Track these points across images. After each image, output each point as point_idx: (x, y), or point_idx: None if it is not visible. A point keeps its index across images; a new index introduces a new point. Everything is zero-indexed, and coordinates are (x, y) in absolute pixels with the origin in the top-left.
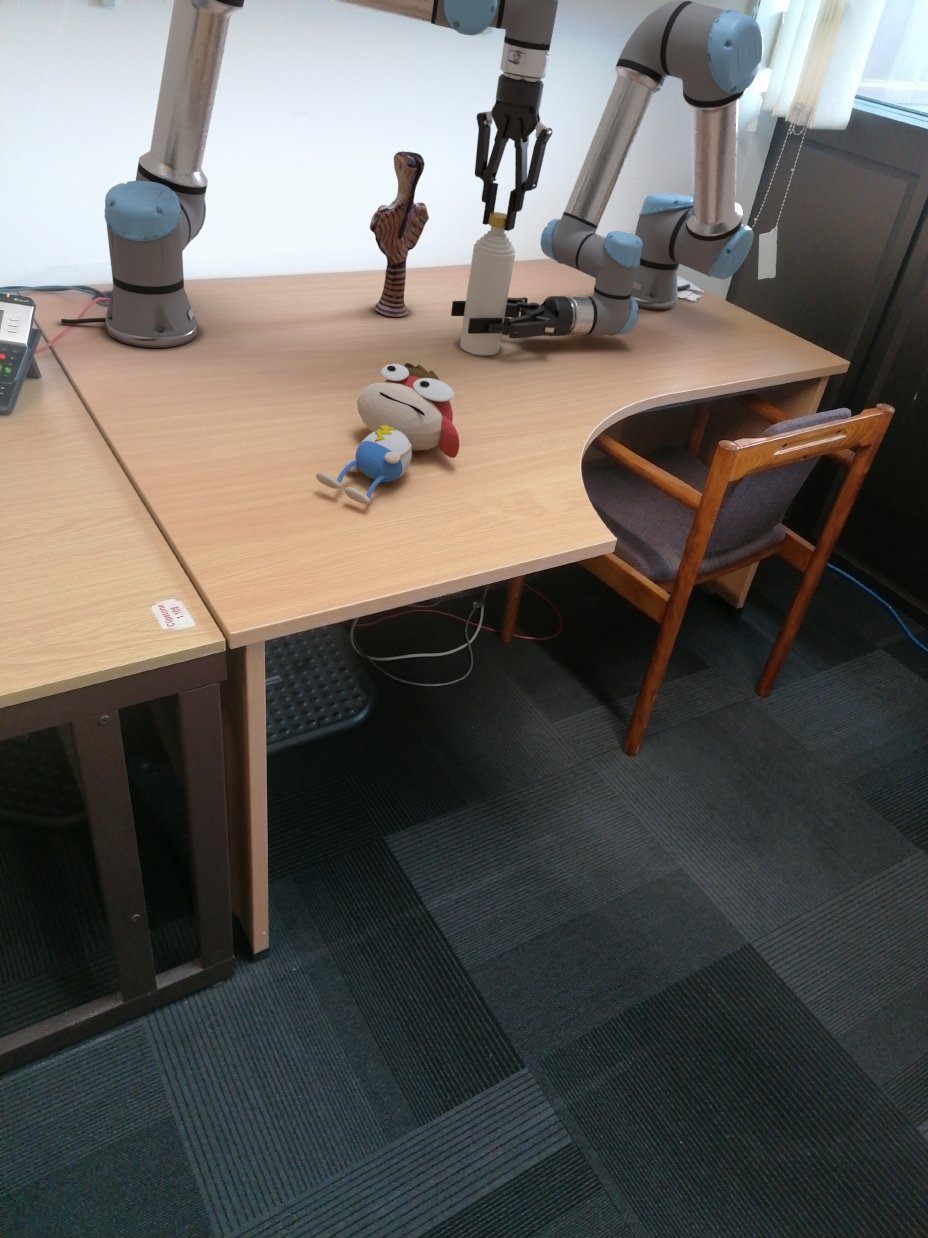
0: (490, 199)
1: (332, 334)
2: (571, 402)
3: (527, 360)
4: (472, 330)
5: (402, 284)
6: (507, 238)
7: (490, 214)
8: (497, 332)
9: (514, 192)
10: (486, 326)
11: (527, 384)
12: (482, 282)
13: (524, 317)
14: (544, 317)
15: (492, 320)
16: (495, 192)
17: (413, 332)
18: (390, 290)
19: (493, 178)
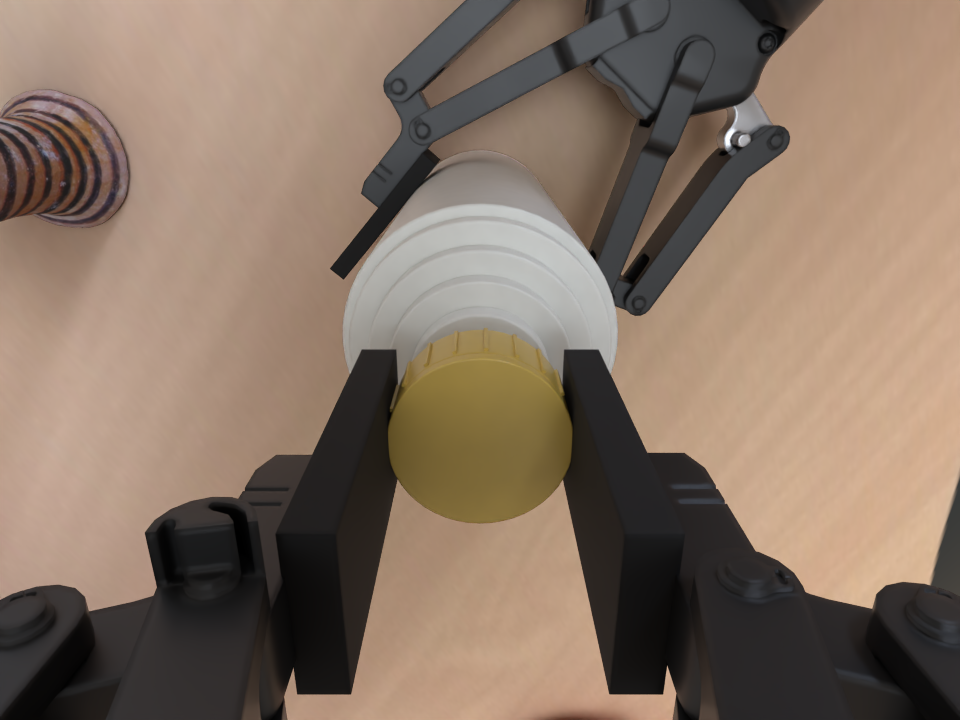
0: (376, 575)
1: (106, 475)
2: (873, 393)
3: (664, 197)
4: None
5: (32, 180)
6: (550, 329)
7: (414, 495)
8: None
9: (661, 685)
10: None
11: (721, 375)
12: None
13: (646, 185)
14: (722, 97)
15: None
16: (359, 515)
17: (248, 280)
18: (24, 215)
19: (270, 636)
